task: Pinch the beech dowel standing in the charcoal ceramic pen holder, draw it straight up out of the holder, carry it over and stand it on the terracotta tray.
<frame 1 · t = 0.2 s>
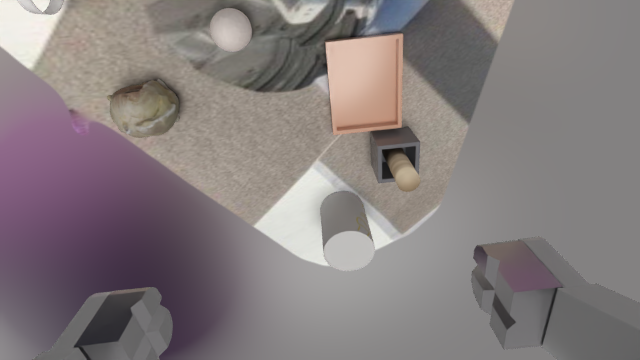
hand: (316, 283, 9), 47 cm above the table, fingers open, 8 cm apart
grey patterned cylinder: (341, 209, 65), on the table
olive grey rounded lump: (154, 100, 54), on the table
dowel: (390, 147, 58), point 1 cm above the table, touching holder
holder: (389, 146, 59), on the table
egg: (236, 27, 49), on the table
tray: (363, 84, 54), on the table
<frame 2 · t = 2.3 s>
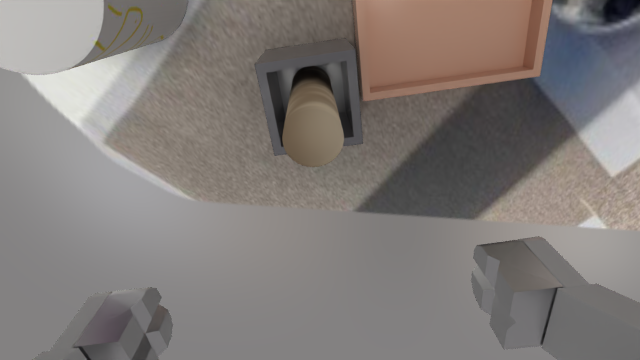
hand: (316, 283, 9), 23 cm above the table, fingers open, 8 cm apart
dowel: (311, 85, 28), point 1 cm above the table, touching holder
holder: (311, 84, 29), on the table
tray: (444, 11, 27), on the table
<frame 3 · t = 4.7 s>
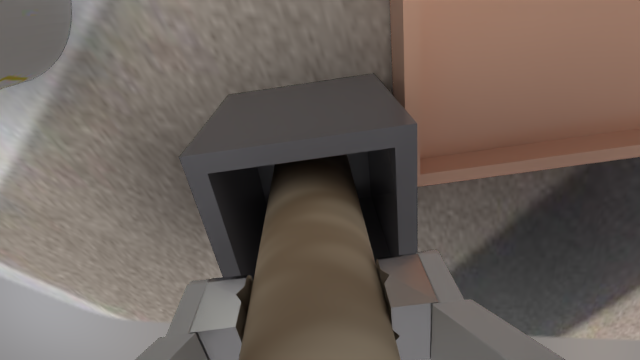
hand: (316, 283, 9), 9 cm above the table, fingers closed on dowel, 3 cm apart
dowel: (311, 156, 16), point 1 cm above the table, touching gripper, holder
holder: (311, 151, 16), on the table
tray: (560, 26, 14), on the table
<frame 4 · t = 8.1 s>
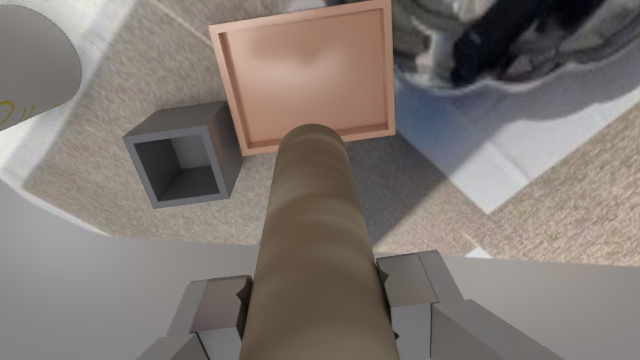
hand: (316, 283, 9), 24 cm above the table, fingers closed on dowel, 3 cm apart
grey patterned cylinder: (31, 58, 29), on the table
dowel: (312, 156, 16), point 16 cm above the table, touching gripper
holder: (201, 138, 33), on the table
tray: (309, 79, 30), on the table
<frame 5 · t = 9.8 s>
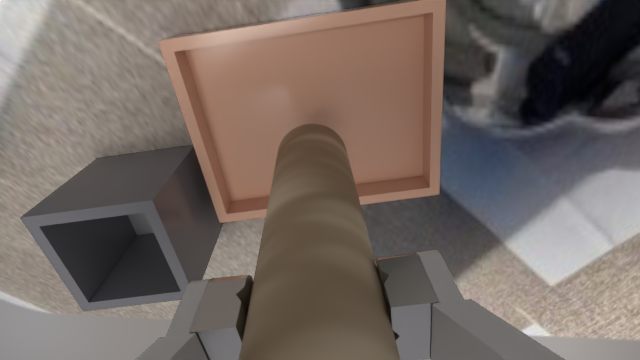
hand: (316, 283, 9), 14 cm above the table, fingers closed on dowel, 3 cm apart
dowel: (312, 156, 16), point 6 cm above the table, touching gripper
holder: (163, 194, 23), on the table
tray: (315, 115, 21), on the table
when the fingers open (10 cm above the table, at t = 11.4 s): dowel stays where it is, resting on tray.
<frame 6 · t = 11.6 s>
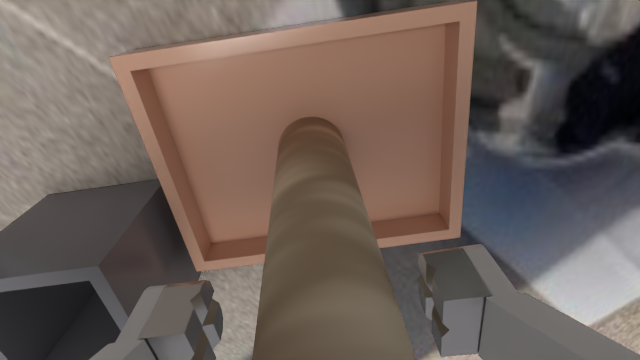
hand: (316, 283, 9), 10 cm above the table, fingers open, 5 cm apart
dowel: (311, 148, 17), point 1 cm above the table, touching tray
holder: (130, 235, 20), on the table
tray: (310, 143, 17), on the table
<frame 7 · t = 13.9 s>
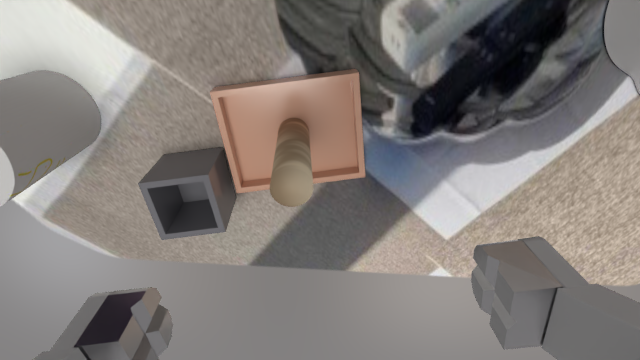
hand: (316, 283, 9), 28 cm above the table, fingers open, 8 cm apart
grey patterned cylinder: (58, 112, 34), on the table
dowel: (293, 132, 36), point 1 cm above the table, touching tray
holder: (201, 177, 38), on the table
tray: (293, 130, 36), on the table
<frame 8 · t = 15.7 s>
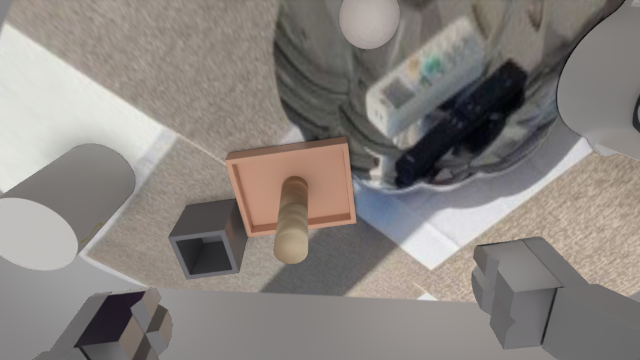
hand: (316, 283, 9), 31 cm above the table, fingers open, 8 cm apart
grey patterned cylinder: (101, 174, 42), on the table
dowel: (294, 187, 42), point 1 cm above the table, touching tray
holder: (217, 222, 45), on the table
egg: (362, 15, 34), on the table
tray: (294, 184, 43), on the table
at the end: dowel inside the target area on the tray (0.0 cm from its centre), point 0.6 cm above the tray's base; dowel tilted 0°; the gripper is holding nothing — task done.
